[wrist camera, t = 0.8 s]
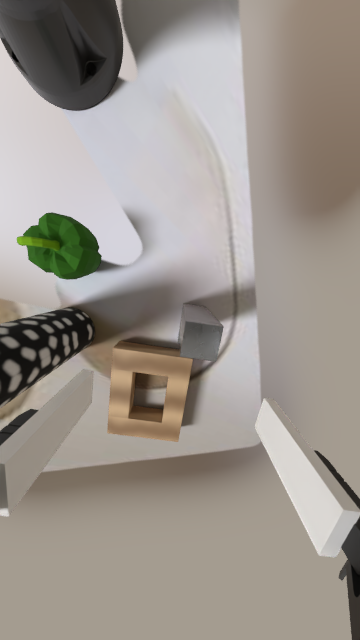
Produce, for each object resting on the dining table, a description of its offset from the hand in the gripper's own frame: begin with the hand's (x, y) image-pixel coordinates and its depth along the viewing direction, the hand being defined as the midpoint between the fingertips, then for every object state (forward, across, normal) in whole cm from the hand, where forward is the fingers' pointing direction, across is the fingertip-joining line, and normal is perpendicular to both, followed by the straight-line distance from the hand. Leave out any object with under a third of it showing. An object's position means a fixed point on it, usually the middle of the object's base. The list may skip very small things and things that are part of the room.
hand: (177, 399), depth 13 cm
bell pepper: (+20, -18, +10) cm, 29 cm away
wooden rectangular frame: (+20, -4, -13) cm, 24 cm away
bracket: (+20, +2, +1) cm, 20 cm away
